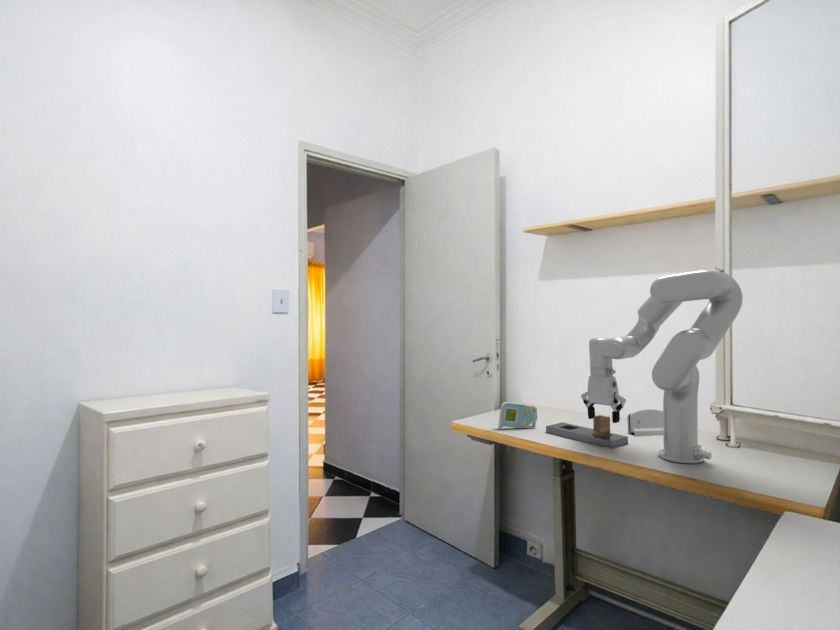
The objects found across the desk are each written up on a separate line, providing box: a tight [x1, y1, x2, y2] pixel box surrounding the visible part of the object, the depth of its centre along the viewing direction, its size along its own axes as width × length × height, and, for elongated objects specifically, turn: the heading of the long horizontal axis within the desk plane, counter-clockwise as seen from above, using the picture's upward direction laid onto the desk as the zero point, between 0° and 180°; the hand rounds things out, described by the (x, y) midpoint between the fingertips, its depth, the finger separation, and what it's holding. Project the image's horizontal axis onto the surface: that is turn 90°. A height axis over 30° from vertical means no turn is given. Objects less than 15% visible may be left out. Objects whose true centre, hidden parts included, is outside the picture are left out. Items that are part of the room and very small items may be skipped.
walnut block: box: [592, 414, 611, 438], centre depth 168 cm, size 4×4×9 cm
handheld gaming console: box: [497, 401, 538, 430], centre depth 190 cm, size 11×3×15 cm
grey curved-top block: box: [626, 408, 664, 437], centre depth 180 cm, size 17×5×10 cm, turn 94°
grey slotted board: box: [545, 422, 629, 450], centre depth 174 cm, size 28×10×2 cm, turn 35°
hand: (603, 420), depth 168 cm, fingers open, 9 cm apart
